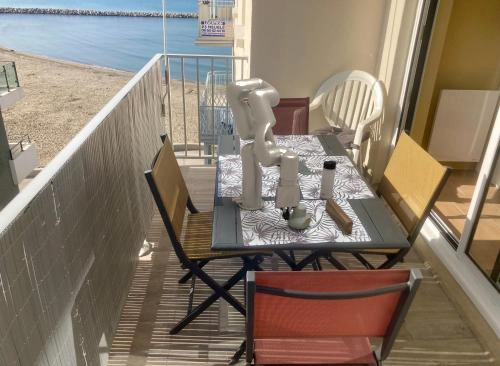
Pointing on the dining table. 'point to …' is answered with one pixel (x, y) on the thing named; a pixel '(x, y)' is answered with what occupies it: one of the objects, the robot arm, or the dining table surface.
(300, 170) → the decorative slab
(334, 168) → the travel mug
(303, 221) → the air freshener
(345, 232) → the board
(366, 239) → the dining table surface
